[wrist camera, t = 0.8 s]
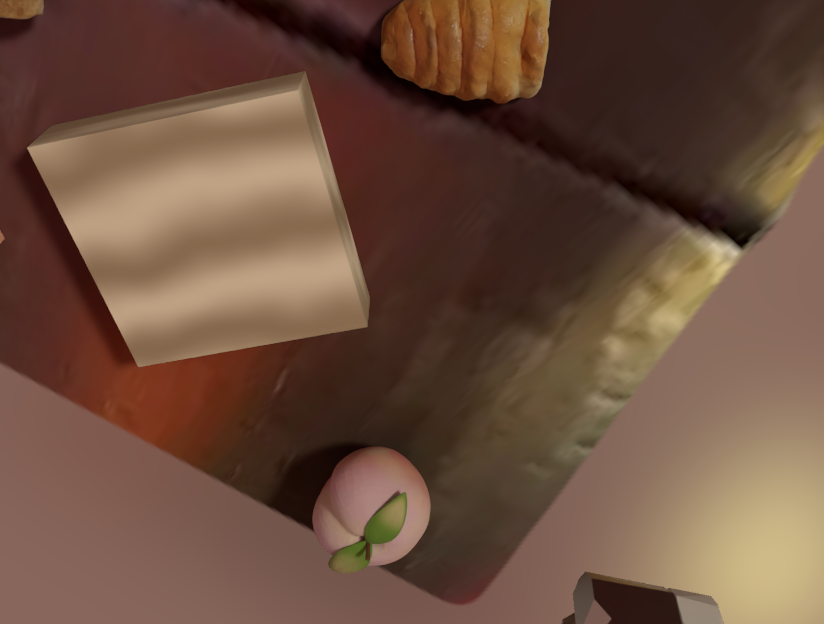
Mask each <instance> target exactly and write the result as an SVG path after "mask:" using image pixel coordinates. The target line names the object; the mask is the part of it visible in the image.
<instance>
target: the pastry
mask: <svg viewBox="0 0 824 624" xmlns="http://www.w3.org/2000/svg"><path fill="white" fill-rule="evenodd" d="M549 11H550V0H403V1H402V2H401V3H400V4H398V5H397V6H396V7H394V8H393V9H392V10H391V11H390V12H389V13H388V14H387V15H386V16H385V18H384V20H383V22H382V31H381V57H382V60H383V61H384V62H385V64H387V65H388V67H389V68H390V69H391V70H392V71H393V72H394V74H396V75H397V76H398V77H400V78H404V79H406V80H409V81H412V82H414V83H415V84H416V85H418V86H419V87H420V88H423V89H425V88H427V89H429V90H433V91H437V92H439V93H441V94H444V95H453V96H456V97H458V98H460V99H462V100H464V101H465V100H466V101H468V100H473V99H477V98H478V99H485V98H490V99H491V100H493V101H494V102H496V103H507V102H508V101H510V100H512V99H515V98H519V97H524V98H530V97H533V96H534V95H535V94H537V92H538V90H539V89H540V87H541V84H542V78H543V73H544V67H545V63H546V56H547V51H548V32H547V29H548V26H549Z"/></svg>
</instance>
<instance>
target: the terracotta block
mask: <svg viewBox="0 0 824 624" xmlns="http://www.w3.org/2000/svg"><path fill="white" fill-rule="evenodd" d="M4 239H5V238H4V236H3V235H2V233H1V231H0V243H1V242H2V241H3V240H4Z"/></svg>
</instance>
